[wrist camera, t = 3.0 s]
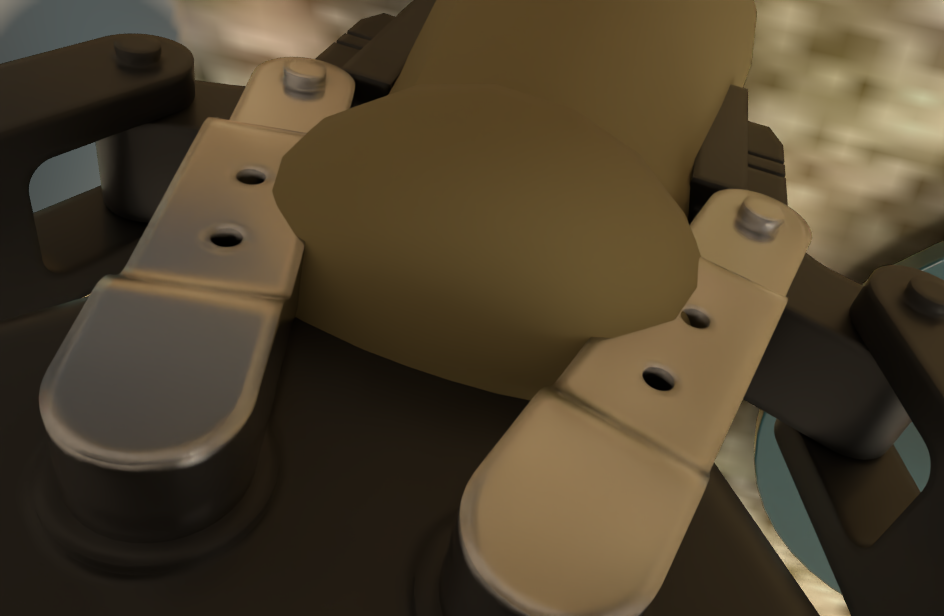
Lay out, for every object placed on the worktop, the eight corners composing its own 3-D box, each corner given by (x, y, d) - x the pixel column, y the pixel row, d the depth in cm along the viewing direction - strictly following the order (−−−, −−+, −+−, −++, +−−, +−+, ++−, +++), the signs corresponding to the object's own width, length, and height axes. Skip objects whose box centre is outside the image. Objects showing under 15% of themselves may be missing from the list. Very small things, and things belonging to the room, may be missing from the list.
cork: (765, 164, 16) (784, 691, 8) (482, 193, 18) (254, 629, 10) (746, -178, 13) (742, 87, 4) (403, -92, 15) (-40, 196, 7)
